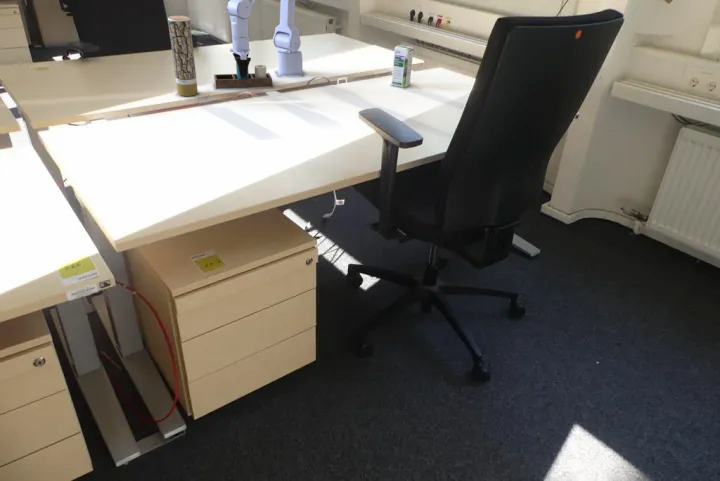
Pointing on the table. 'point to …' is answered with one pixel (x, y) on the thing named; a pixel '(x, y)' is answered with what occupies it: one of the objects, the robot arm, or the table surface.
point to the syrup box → (402, 66)
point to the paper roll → (239, 73)
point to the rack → (241, 81)
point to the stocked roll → (260, 71)
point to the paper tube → (183, 55)
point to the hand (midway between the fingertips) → (242, 75)
